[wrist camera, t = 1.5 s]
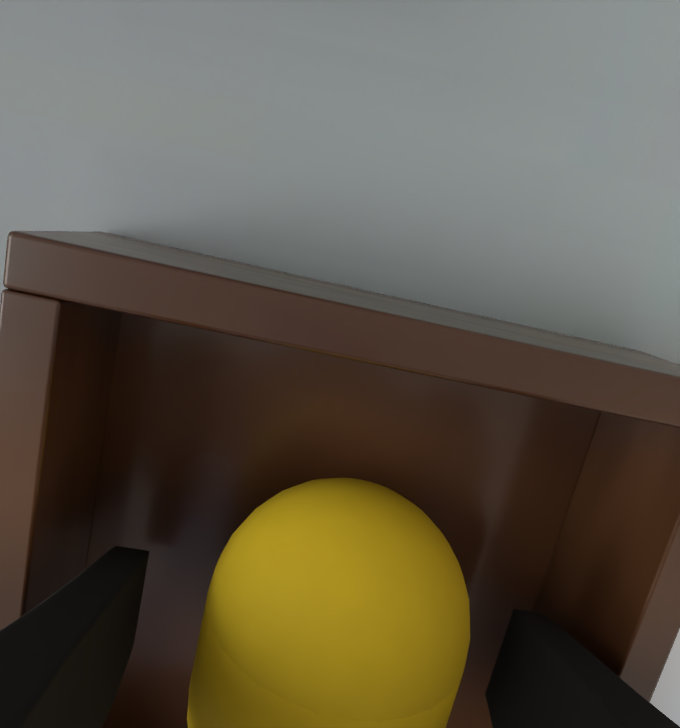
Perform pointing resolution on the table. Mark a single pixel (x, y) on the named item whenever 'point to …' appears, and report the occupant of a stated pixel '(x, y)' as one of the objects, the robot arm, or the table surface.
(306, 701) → the yellow capsule
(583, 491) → the box
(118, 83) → the table surface
